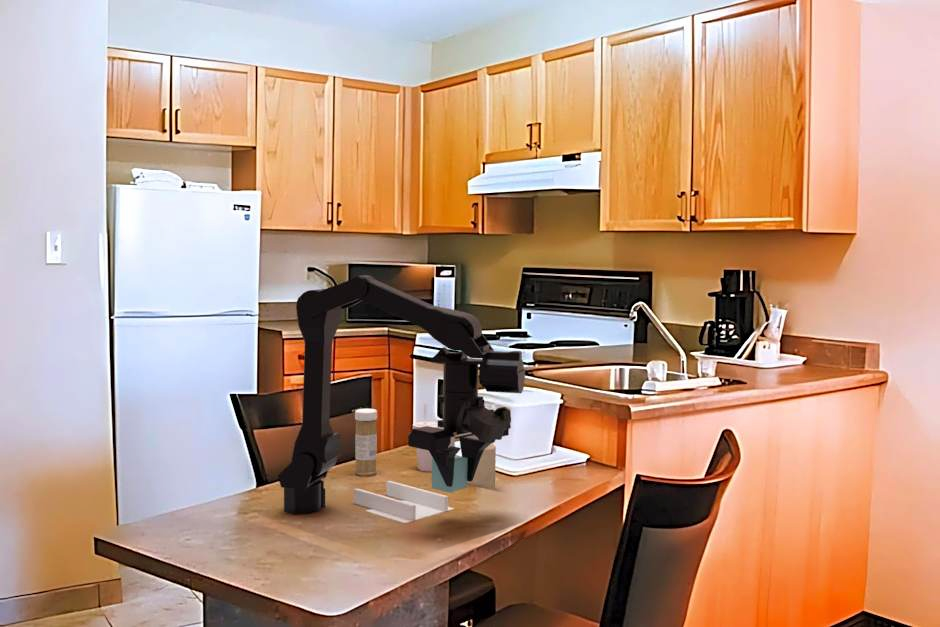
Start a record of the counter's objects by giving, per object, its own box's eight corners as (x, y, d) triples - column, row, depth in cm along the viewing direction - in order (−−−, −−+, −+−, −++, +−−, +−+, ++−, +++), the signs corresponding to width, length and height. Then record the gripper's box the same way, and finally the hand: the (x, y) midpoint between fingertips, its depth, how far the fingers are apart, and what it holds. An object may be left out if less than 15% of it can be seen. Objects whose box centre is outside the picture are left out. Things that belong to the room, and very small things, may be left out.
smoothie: (408, 466, 197) (409, 402, 196) (437, 464, 199) (438, 401, 198) (416, 473, 191) (416, 407, 190) (445, 471, 193) (446, 406, 192)
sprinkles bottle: (369, 470, 193) (369, 407, 192) (381, 474, 190) (381, 410, 189) (350, 473, 190) (350, 409, 190) (362, 477, 187) (362, 412, 186)
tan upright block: (499, 491, 178) (500, 441, 177) (473, 494, 176) (473, 442, 175) (488, 484, 183) (489, 435, 182) (462, 487, 181) (463, 437, 180)
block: (431, 488, 152) (449, 492, 150) (431, 458, 152) (450, 462, 149) (449, 483, 156) (467, 487, 153) (449, 454, 155) (467, 457, 153)
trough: (404, 531, 152) (404, 508, 152) (346, 513, 162) (346, 490, 162) (454, 516, 161) (454, 494, 160) (396, 500, 171) (396, 478, 170)
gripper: (457, 402, 138) (455, 504, 139) (534, 389, 152) (532, 482, 153) (406, 394, 145) (405, 490, 146) (484, 382, 159) (483, 471, 160)
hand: (459, 483), depth 151 cm, fingers closed on block, 4 cm apart
